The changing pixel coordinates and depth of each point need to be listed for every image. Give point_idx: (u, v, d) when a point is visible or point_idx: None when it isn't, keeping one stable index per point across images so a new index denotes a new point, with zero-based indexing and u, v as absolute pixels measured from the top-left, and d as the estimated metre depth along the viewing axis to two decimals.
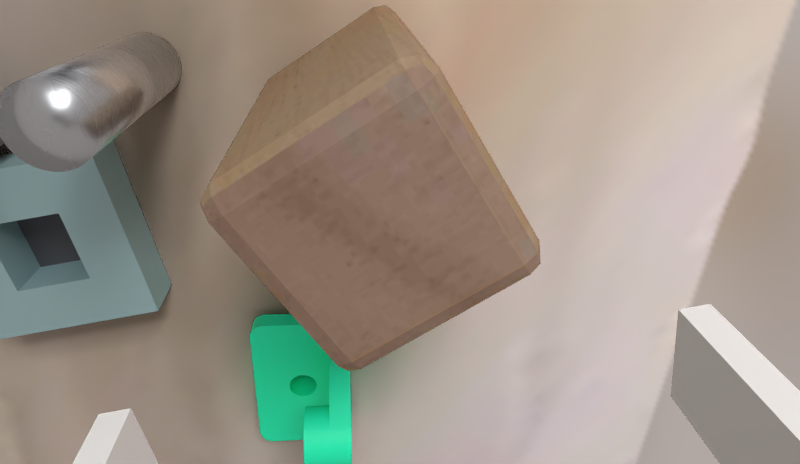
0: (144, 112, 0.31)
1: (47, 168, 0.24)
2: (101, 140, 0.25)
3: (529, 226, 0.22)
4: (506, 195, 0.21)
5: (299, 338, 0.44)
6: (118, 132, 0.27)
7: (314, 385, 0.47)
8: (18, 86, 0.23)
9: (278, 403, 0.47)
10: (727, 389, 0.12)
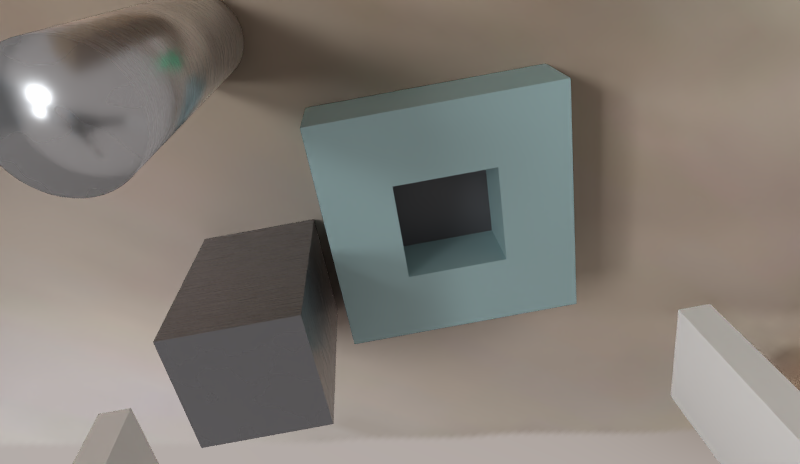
0: (185, 20, 0.19)
1: (142, 138, 0.14)
2: (84, 37, 0.13)
3: None
4: None
5: None
6: (138, 32, 0.16)
7: None
8: None
9: None
10: (727, 389, 0.12)
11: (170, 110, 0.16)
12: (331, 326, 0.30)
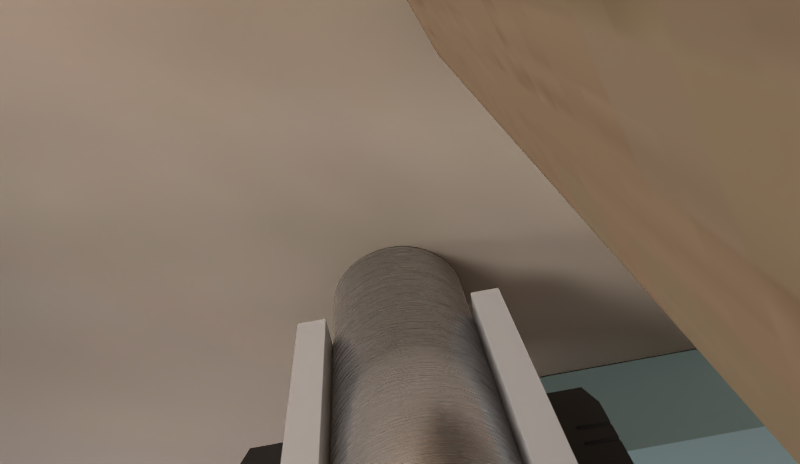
0: (498, 430, 0.11)
1: None
2: None
3: None
4: None
5: None
6: None
7: None
8: None
9: None
10: (489, 359, 0.14)
11: None
12: None
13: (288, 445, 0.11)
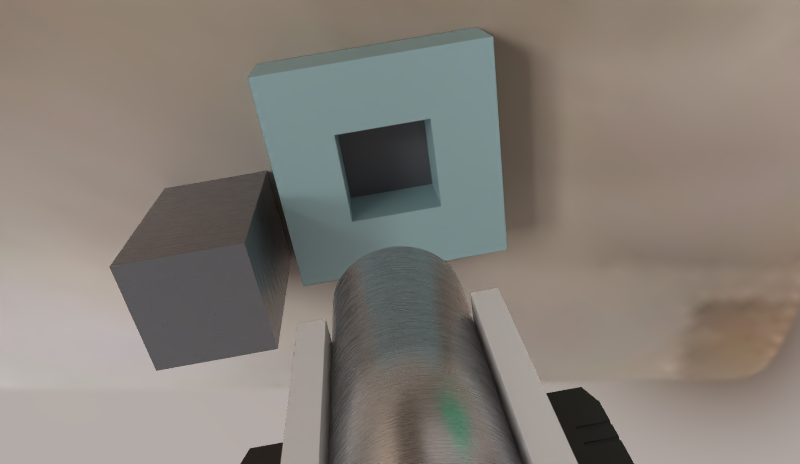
0: (497, 430, 0.11)
1: None
2: None
3: None
4: None
5: None
6: None
7: None
8: None
9: None
10: (489, 359, 0.14)
11: None
12: (281, 269, 0.32)
13: (288, 445, 0.11)
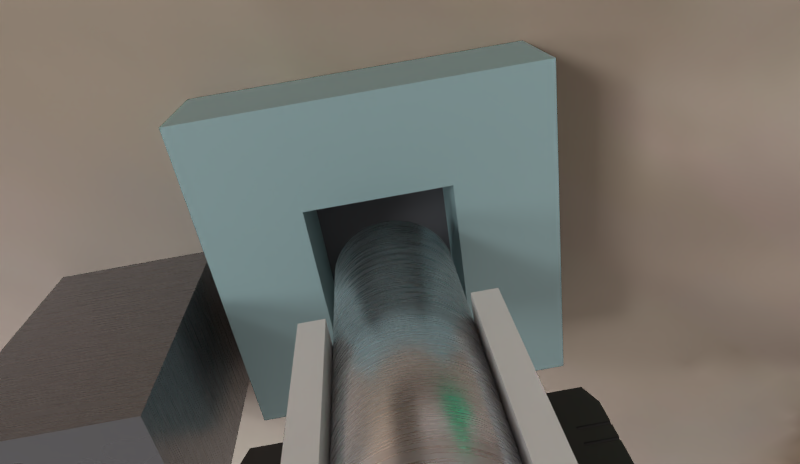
0: (478, 369, 0.13)
1: None
2: None
3: None
4: None
5: None
6: None
7: None
8: None
9: None
10: (489, 359, 0.14)
11: None
12: (232, 397, 0.22)
13: (288, 445, 0.11)
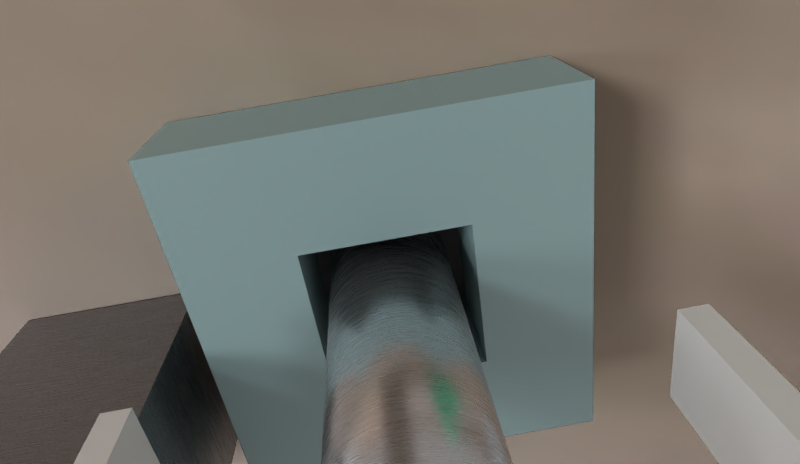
0: (462, 342, 0.13)
1: None
2: None
3: None
4: None
5: None
6: None
7: None
8: None
9: None
10: (725, 388, 0.12)
11: None
12: (216, 460, 0.19)
13: None
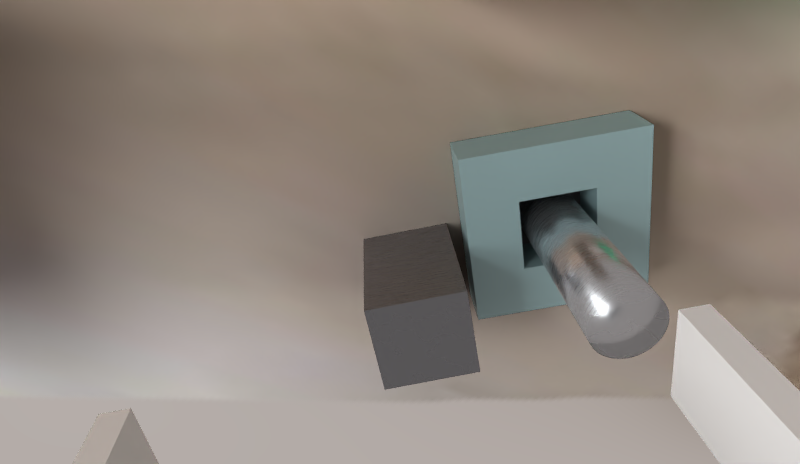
0: (601, 231, 0.33)
1: (662, 331, 0.28)
2: (646, 286, 0.27)
3: None
4: None
5: None
6: (630, 265, 0.29)
7: None
8: (591, 338, 0.28)
9: None
10: (727, 389, 0.12)
11: None
12: None
13: None
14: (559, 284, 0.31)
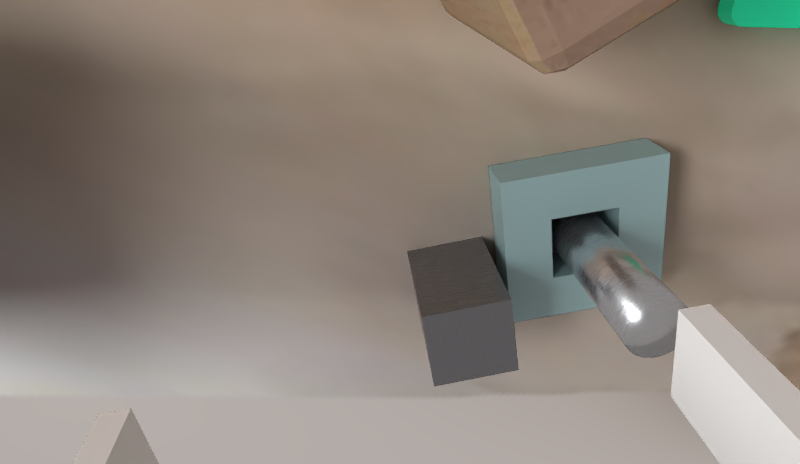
0: (626, 246, 0.38)
1: None
2: (673, 296, 0.32)
3: None
4: None
5: None
6: (656, 277, 0.34)
7: None
8: (627, 340, 0.32)
9: None
10: (727, 389, 0.12)
11: None
12: None
13: None
14: (593, 293, 0.36)
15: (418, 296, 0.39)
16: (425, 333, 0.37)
